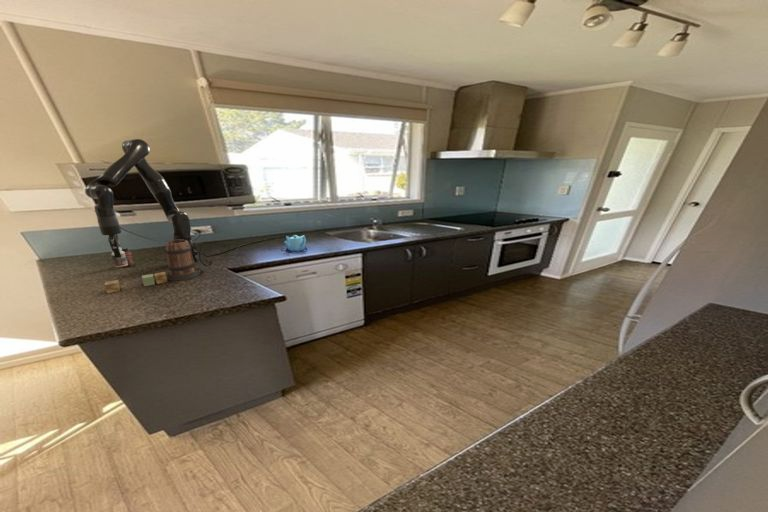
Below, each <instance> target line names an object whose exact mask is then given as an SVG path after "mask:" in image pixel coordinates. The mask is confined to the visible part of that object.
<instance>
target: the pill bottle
mask: <svg viewBox="0 0 768 512" xmlns="http://www.w3.org/2000/svg"><path fill="white" fill-rule="evenodd" d="M116 248H117V247H116ZM122 248H123V247H121V246H120V247H119V249H120V250H119V251H120V254H121V257H120V258H116V257H115V254H114V251H112V248H111V249H110V251H111V252H112V253H111V254H110V255H111V258H112V261H113V262H112V263H113V265H114V267H115V268H124V267H123V266H126V265H128V262H127V258H126V255H125V252H124V251H122Z"/></svg>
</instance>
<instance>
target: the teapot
mask: <svg viewBox="0 0 768 512" xmlns="http://www.w3.org/2000/svg"><path fill="white" fill-rule="evenodd" d="M285 239H286V240H285V241H283V242H284V244H285V247H286V249H287V250H288V251H290V252H301V251H303V250H305V248H306V243H307V238H306V235H300V236H299V235H297V234H293V235H292V236H289V235H288V236H285Z"/></svg>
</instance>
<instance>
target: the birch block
mask: <svg viewBox="0 0 768 512" xmlns="http://www.w3.org/2000/svg"><path fill="white" fill-rule="evenodd" d="M104 288H105V291H106V294H113V293H117V292H120V291H121V286H120V283H119V280H118V279H115V280H109V281H105V282H104Z"/></svg>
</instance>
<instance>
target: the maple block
mask: <svg viewBox="0 0 768 512" xmlns="http://www.w3.org/2000/svg"><path fill="white" fill-rule="evenodd" d="M166 276H167V274H166V271H160V272H156V273H155V272H154V280H155V283H156V284H157V285H159V284H164V283H168V279H167V278H166Z"/></svg>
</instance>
